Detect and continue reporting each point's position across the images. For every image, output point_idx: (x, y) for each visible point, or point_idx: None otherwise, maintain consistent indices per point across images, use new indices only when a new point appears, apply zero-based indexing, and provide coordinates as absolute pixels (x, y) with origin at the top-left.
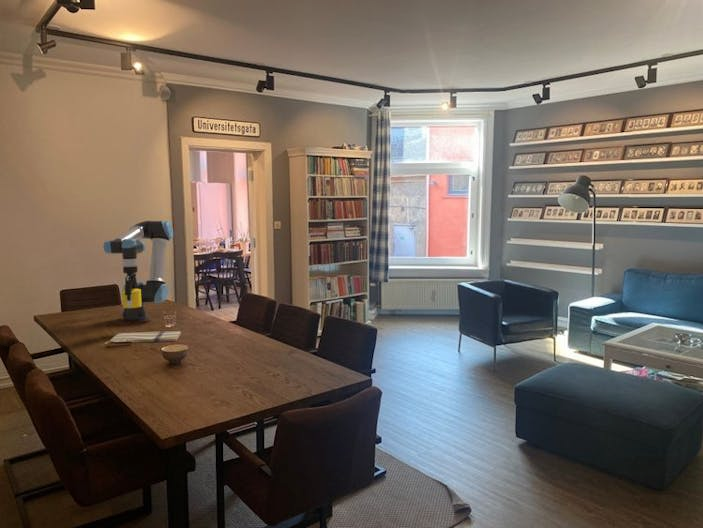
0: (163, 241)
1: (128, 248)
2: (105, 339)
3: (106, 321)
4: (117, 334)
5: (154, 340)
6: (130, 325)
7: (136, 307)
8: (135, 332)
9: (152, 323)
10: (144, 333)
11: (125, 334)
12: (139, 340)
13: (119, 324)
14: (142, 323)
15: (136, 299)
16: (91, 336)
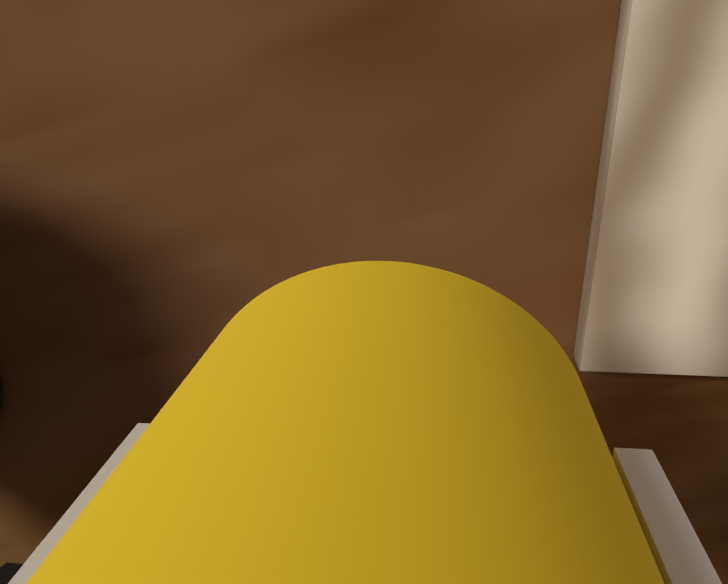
0: None
1: None
2: (706, 433)
3: (47, 530)
4: (652, 364)
5: None
6: (154, 335)
7: (552, 337)
8: (607, 190)
9: (40, 128)
10: (709, 46)
11: (682, 283)
12: None
13: (127, 430)
14: (59, 240)
15: (606, 487)
16: None
